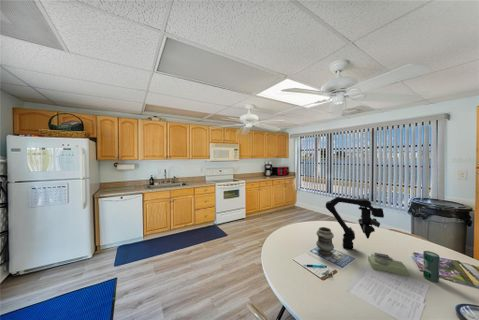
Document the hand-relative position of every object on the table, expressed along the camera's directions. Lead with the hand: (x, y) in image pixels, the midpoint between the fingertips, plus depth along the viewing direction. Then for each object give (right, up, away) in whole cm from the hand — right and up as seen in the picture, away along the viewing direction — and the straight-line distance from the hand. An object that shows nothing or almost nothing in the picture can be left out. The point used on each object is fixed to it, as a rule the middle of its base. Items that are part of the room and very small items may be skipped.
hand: (365, 235), depth 131 cm
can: (+16, -12, -30) cm, 36 cm away
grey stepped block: (+3, -12, -11) cm, 17 cm away
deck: (0, -12, -17) cm, 21 cm away
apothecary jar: (-32, -13, -1) cm, 35 cm away
